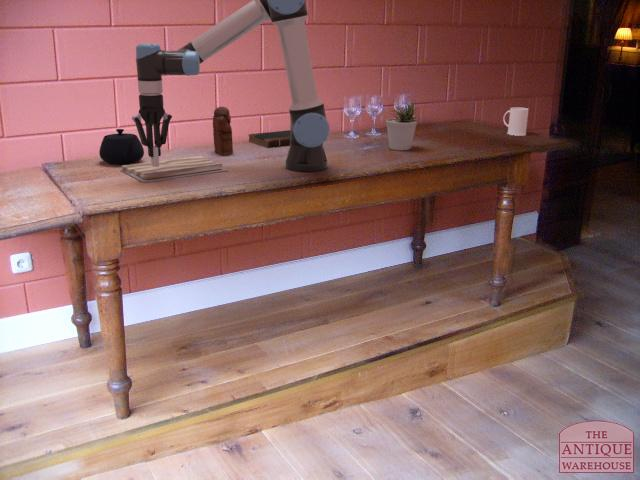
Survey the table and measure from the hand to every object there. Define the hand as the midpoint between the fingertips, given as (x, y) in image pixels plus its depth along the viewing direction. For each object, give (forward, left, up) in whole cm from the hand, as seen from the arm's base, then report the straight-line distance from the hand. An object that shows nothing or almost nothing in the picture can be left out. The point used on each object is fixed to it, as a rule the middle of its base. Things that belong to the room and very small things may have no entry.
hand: (155, 166), depth 218 cm
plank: (+2, -9, -3) cm, 10 cm away
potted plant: (-9, -103, -4) cm, 104 cm away
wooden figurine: (+23, -38, -4) cm, 45 cm away
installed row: (+12, -9, -4) cm, 16 cm away
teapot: (+27, +1, -4) cm, 28 cm away
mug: (-11, -173, -4) cm, 174 cm away
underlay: (+5, -9, -4) cm, 11 cm away
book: (+30, -71, -5) cm, 77 cm away
